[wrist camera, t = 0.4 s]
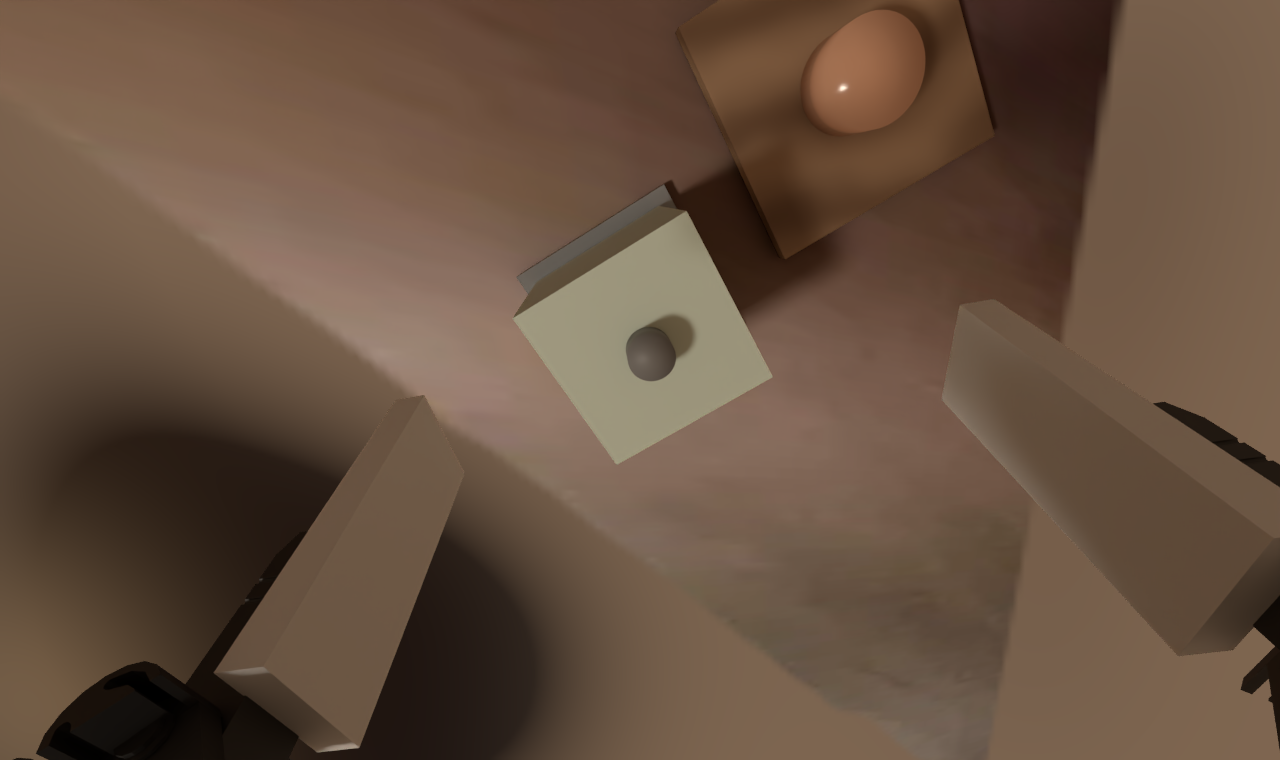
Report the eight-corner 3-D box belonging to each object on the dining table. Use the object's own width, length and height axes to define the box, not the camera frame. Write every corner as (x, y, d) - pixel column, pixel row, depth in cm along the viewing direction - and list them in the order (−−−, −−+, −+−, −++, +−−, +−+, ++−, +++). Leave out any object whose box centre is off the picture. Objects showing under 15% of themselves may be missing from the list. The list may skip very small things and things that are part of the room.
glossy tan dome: (793, 45, 31) (817, 27, 27) (887, 16, 30) (922, -5, 27) (807, 147, 33) (831, 142, 29) (894, 122, 33) (928, 114, 29)
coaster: (517, 275, 35) (516, 277, 35) (662, 184, 34) (663, 184, 33) (606, 405, 39) (606, 408, 39) (738, 328, 38) (740, 330, 37)
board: (675, 33, 31) (678, 27, 30) (910, -123, 29) (922, -136, 28) (779, 257, 36) (785, 259, 35) (981, 137, 35) (994, 135, 34)
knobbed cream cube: (536, 281, 35) (507, 326, 23) (658, 205, 34) (692, 212, 22) (610, 392, 38) (618, 480, 27) (723, 326, 37) (783, 387, 25)
